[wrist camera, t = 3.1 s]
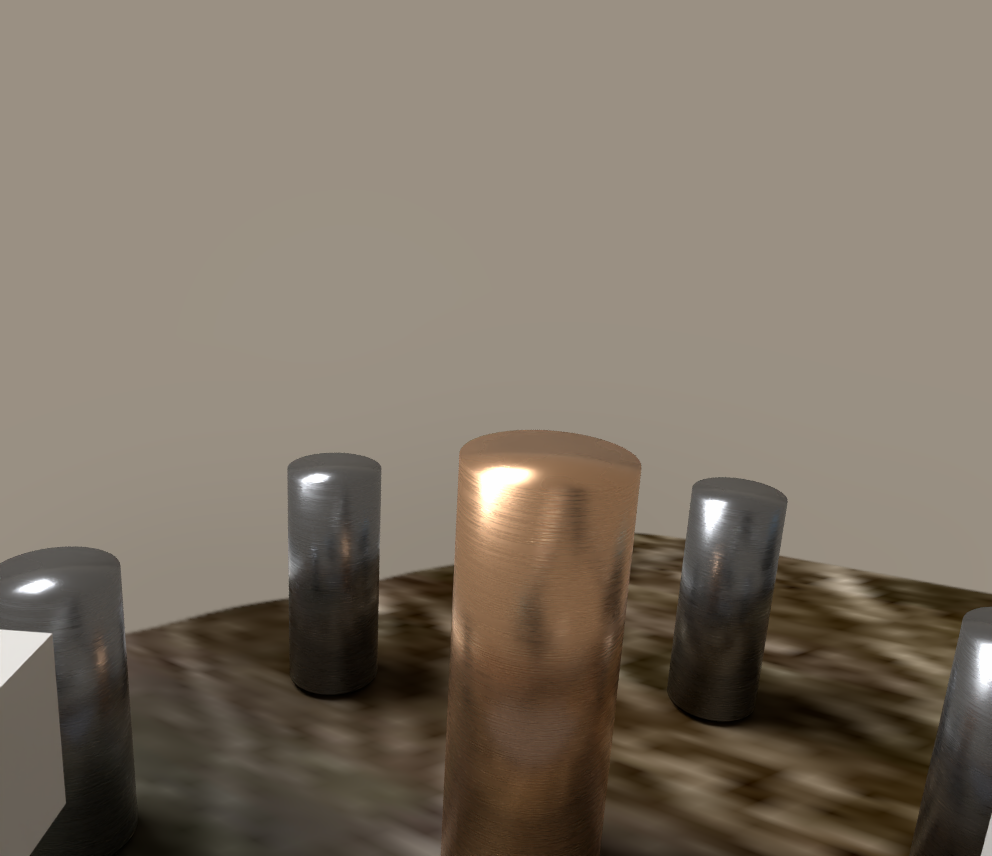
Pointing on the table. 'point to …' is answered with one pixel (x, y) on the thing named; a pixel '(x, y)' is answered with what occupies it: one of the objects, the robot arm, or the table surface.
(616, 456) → the cylinder
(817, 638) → the table surface
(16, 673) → the robot arm
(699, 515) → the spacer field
